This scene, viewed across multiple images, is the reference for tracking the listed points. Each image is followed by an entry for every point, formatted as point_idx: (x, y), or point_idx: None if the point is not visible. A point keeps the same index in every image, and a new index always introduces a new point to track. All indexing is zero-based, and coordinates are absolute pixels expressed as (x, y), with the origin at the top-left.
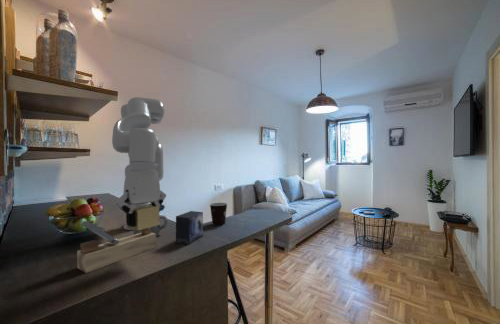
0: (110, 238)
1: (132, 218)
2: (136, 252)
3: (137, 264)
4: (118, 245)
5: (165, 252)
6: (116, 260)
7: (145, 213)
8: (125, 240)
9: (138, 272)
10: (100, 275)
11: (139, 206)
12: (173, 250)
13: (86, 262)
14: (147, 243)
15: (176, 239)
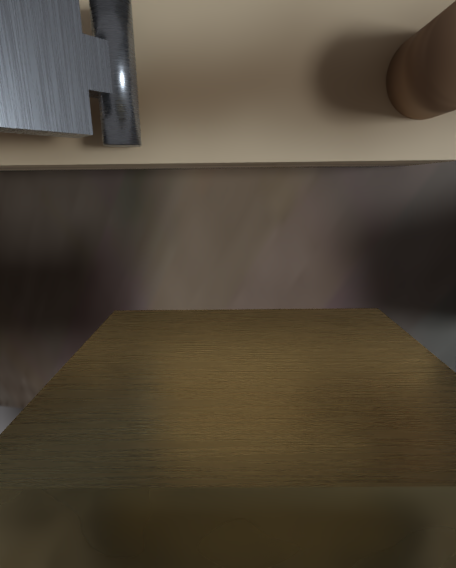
0: (57, 133)
1: None
2: (270, 166)
3: (198, 301)
4: (138, 163)
5: (368, 296)
6: (147, 168)
7: None
8: (223, 93)
9: None
10: (41, 260)
11: (287, 518)
12: (409, 311)
13: None
14: (359, 164)
15: None
